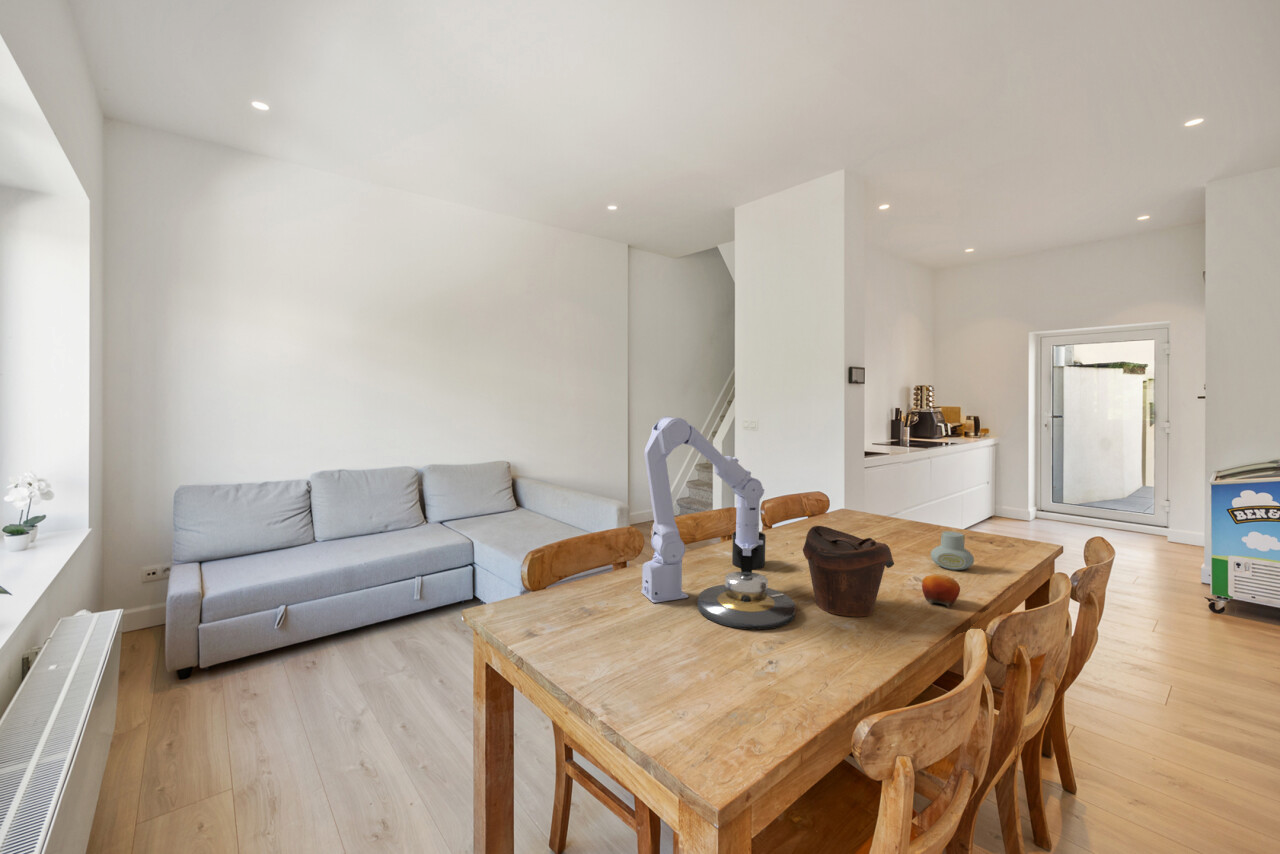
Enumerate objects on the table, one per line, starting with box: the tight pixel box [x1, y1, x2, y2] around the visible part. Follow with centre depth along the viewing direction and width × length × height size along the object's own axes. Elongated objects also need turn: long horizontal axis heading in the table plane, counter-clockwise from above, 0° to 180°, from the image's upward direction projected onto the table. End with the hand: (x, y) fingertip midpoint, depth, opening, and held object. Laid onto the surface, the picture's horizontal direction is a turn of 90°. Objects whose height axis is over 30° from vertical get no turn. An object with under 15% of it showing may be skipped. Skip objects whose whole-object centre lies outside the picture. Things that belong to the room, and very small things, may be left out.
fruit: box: [921, 573, 961, 609], centre depth 130 cm, size 8×8×8 cm
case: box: [802, 525, 895, 618], centre depth 126 cm, size 18×20×18 cm
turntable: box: [697, 584, 796, 630], centre depth 125 cm, size 22×22×2 cm
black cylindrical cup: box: [731, 531, 767, 570], centre depth 159 cm, size 9×12×9 cm
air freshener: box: [930, 530, 975, 571], centre depth 157 cm, size 11×8×10 cm
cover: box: [724, 571, 769, 600], centre depth 129 cm, size 10×10×4 cm
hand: (746, 575), depth 138 cm, fingers closed
